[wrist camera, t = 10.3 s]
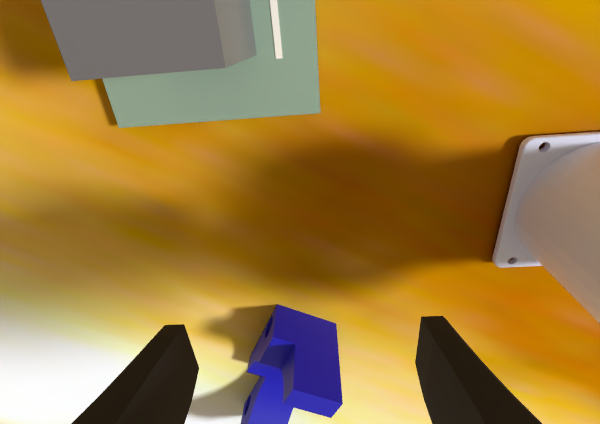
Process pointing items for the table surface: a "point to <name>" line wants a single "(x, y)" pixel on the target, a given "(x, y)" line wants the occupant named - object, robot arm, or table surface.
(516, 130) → the table surface
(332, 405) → the cable clip
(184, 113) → the board
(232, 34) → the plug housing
